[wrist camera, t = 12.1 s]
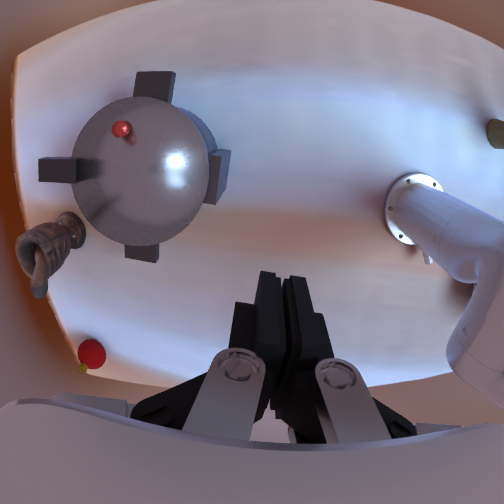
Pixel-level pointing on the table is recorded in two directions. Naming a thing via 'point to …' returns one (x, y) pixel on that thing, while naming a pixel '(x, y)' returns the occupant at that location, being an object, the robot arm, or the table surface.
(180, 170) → the lid
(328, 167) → the table surface
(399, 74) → the table surface
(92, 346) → the christmas ornament
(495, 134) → the olive green tall piece
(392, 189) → the robot arm
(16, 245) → the mortar and pestle
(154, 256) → the pot
